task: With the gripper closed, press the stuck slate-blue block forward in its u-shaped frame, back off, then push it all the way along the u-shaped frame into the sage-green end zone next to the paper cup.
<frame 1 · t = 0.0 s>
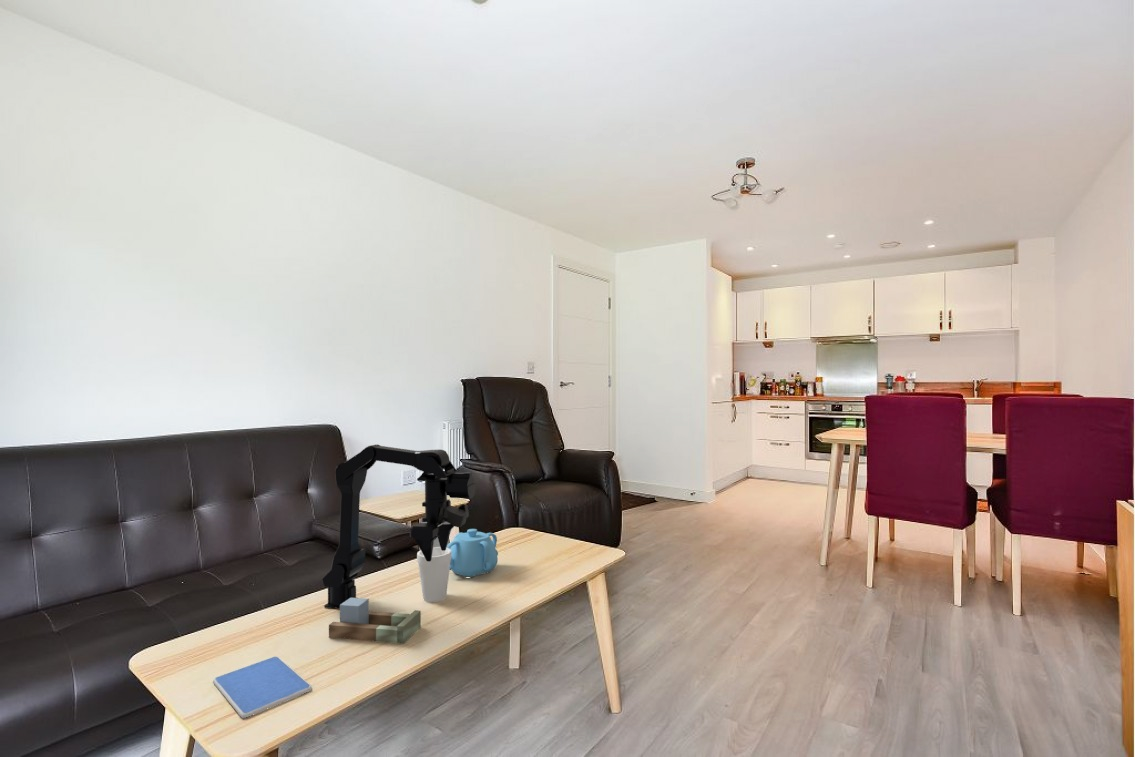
hand: (436, 555, 141), 15 cm above the table, tool pointing down, fingers open, 9 cm apart
decorative pot: (472, 572, 170), on the table
block: (354, 616, 130), point 3 cm above the table, slide at 0.0 cm
tablet computer: (261, 689, 106), on the table
foam cup: (434, 598, 149), on the table
u-shaped frame: (373, 631, 129), on the table
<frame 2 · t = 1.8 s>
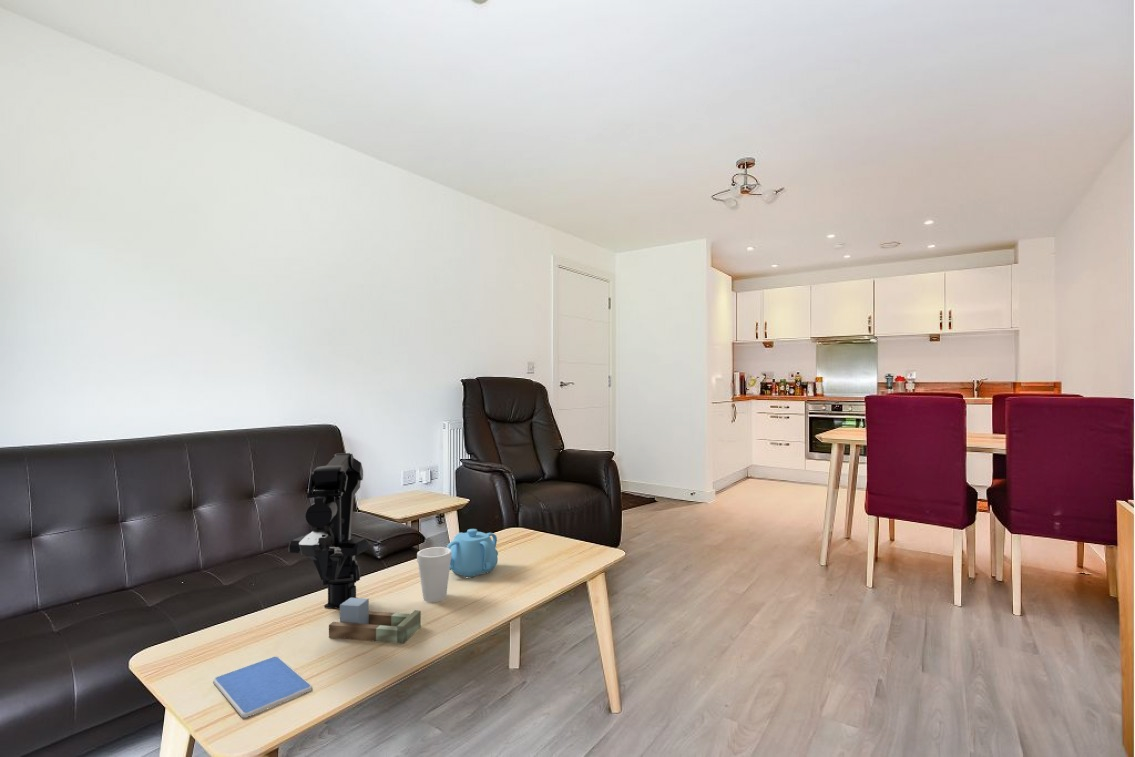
hand: (328, 579, 131), 12 cm above the table, tool pointing down, fingers open, 3 cm apart
nothing on the table moved.
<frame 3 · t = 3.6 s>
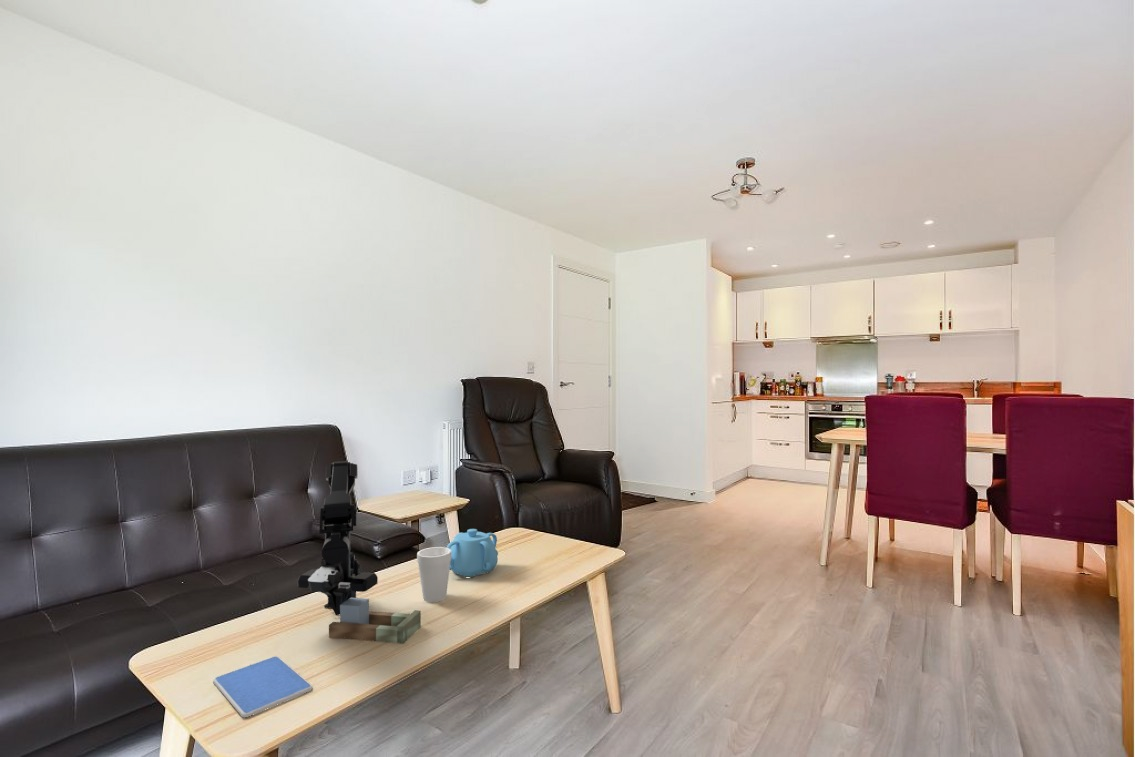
hand: (338, 614, 130), 4 cm above the table, tool pointing down, fingers closed
block: (354, 616, 130), point 3 cm above the table, slide at 0.1 cm, touching gripper
everything else where it was.
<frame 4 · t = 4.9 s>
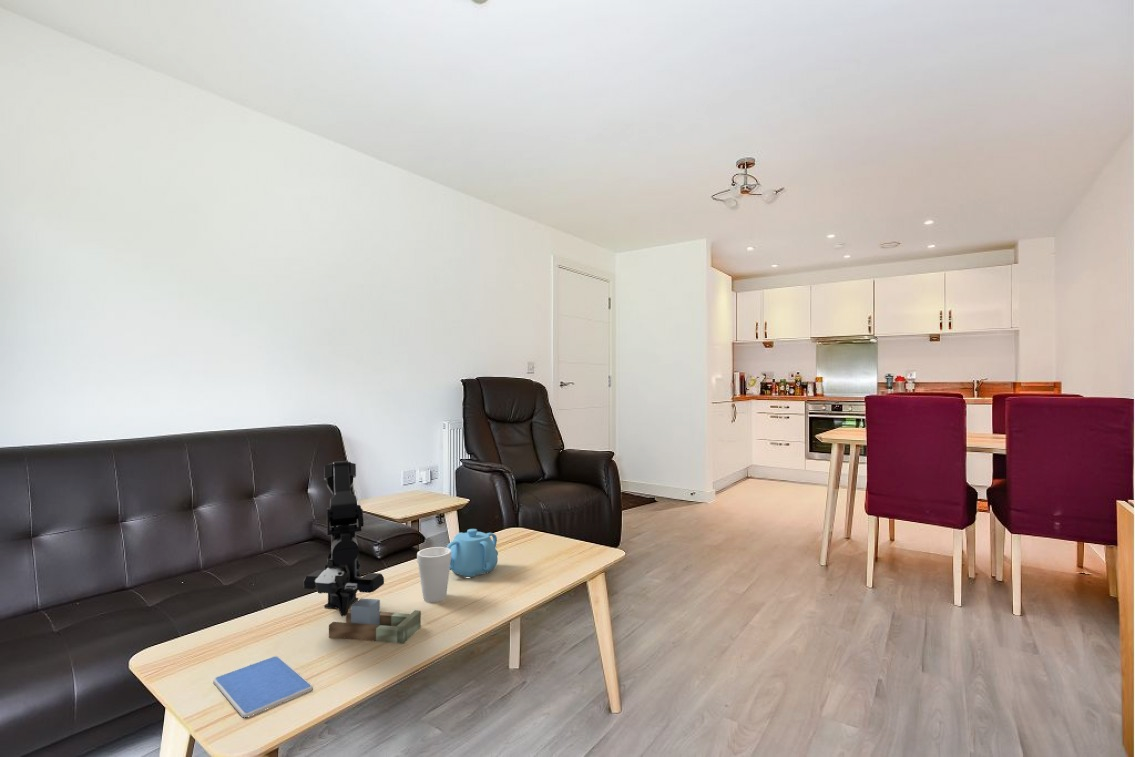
hand: (344, 615, 130), 3 cm above the table, tool pointing down, fingers closed
block: (365, 616, 129), point 3 cm above the table, slide at 3.0 cm
everything else where it was.
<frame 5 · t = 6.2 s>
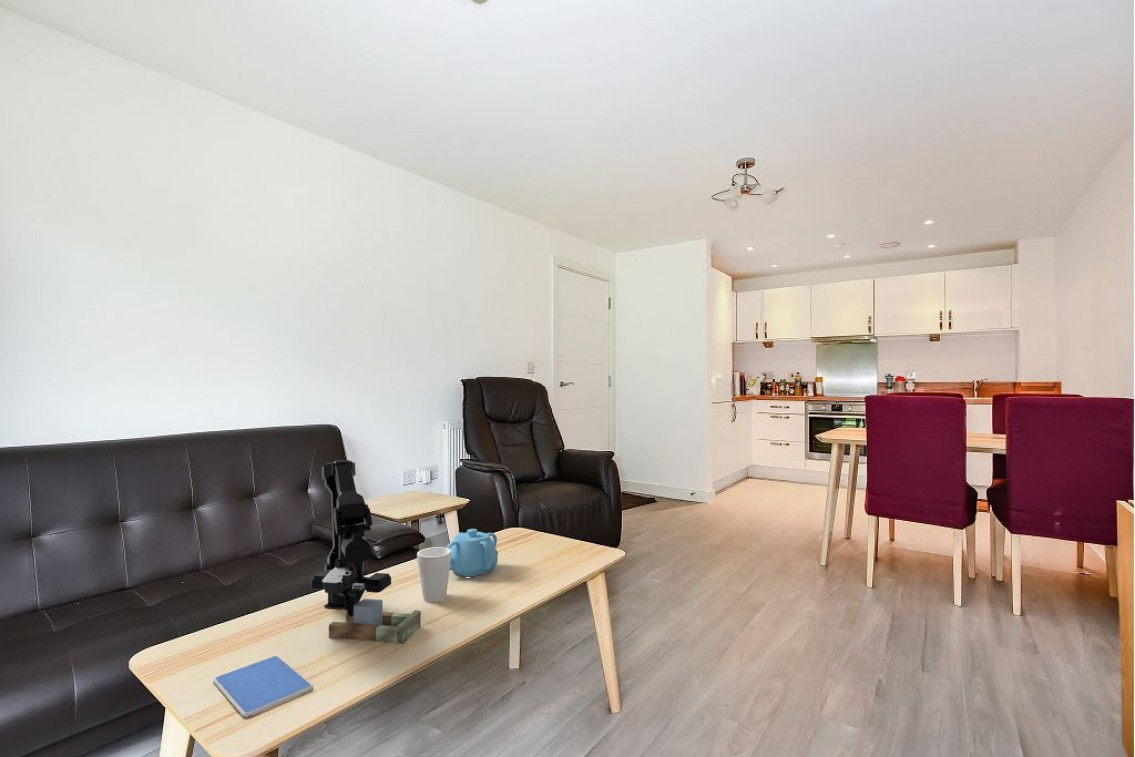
hand: (351, 615, 130), 4 cm above the table, tool pointing down, fingers closed
block: (368, 617, 129), point 3 cm above the table, slide at 3.8 cm, touching gripper
everything else where it was.
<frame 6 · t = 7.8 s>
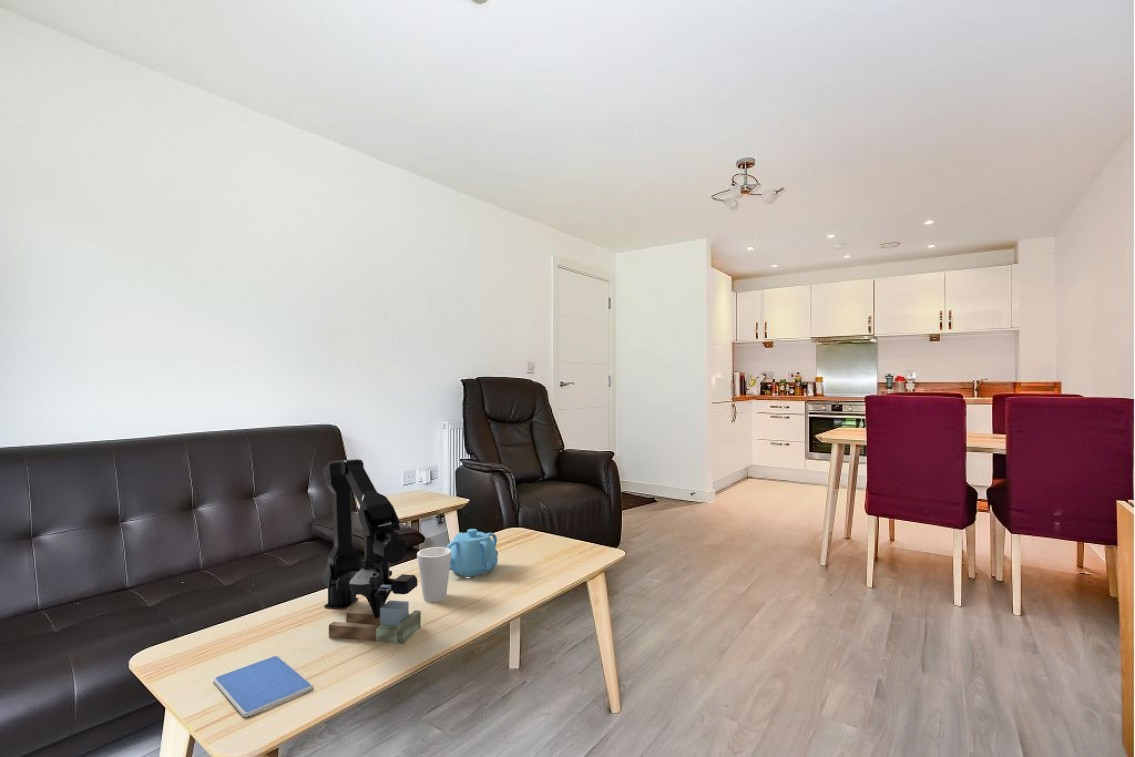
hand: (377, 617, 129), 4 cm above the table, tool pointing down, fingers closed
block: (394, 619, 128), point 3 cm above the table, slide at 10.8 cm, touching gripper
everything else where it was.
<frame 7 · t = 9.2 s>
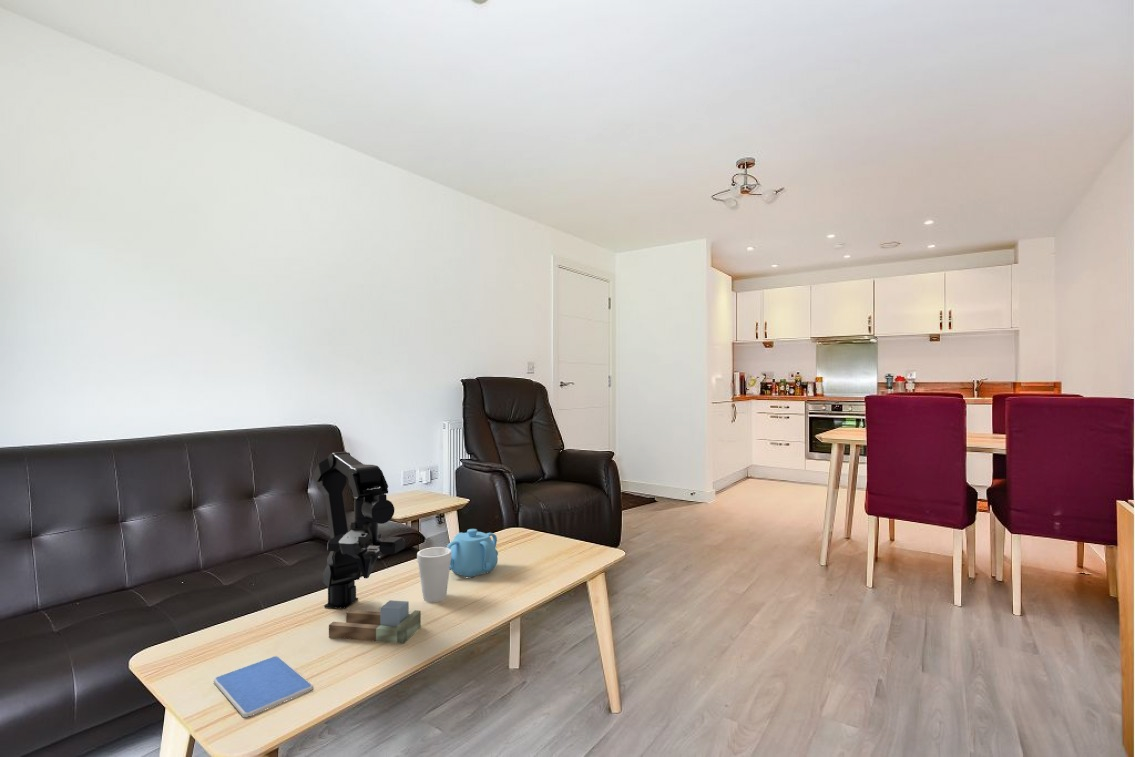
hand: (366, 577, 133), 12 cm above the table, tool pointing down, fingers closed
block: (394, 619, 128), point 3 cm above the table, slide at 10.8 cm
everything else where it was.
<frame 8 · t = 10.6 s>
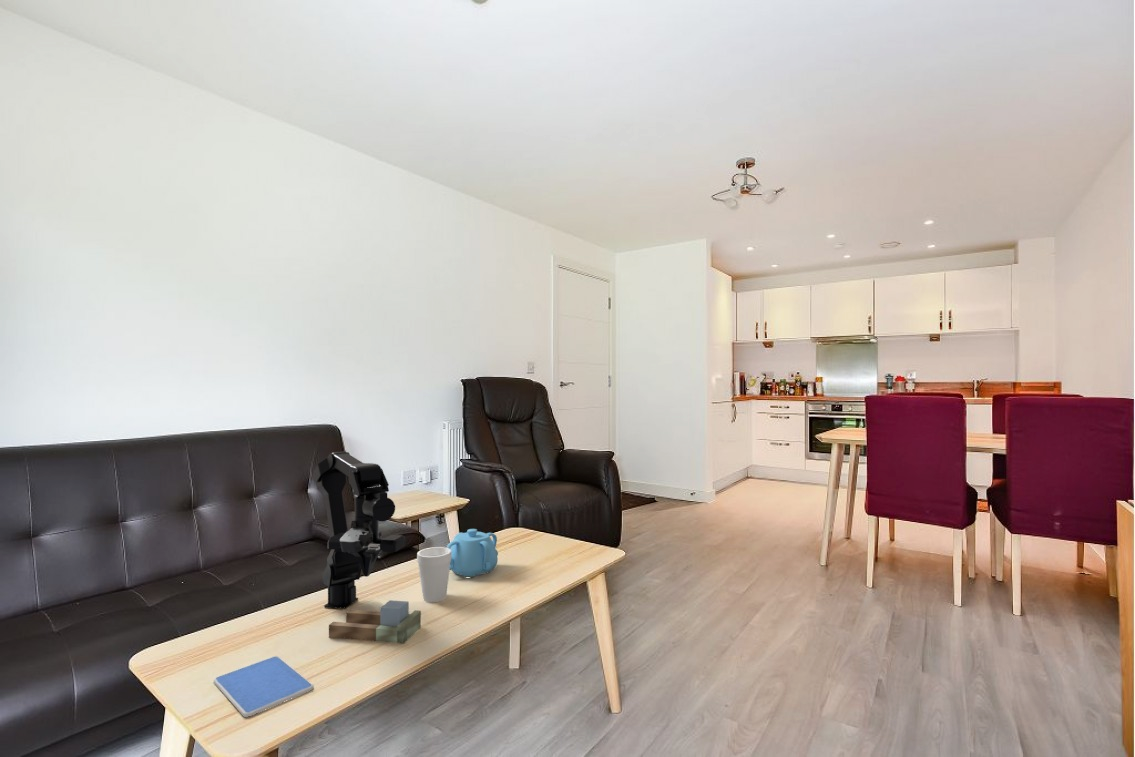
hand: (367, 576, 134), 12 cm above the table, tool pointing down, fingers closed
nothing on the table moved.
at the end: block slide at 10.8 cm; block 0.6 cm from the target spot, resting in u-shaped frame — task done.
